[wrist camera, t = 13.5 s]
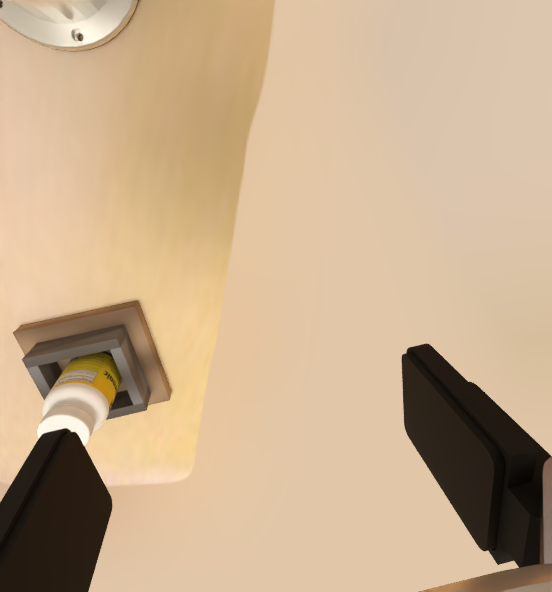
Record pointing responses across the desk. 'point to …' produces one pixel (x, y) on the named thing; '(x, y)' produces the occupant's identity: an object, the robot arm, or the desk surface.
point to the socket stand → (96, 338)
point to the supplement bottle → (82, 395)
